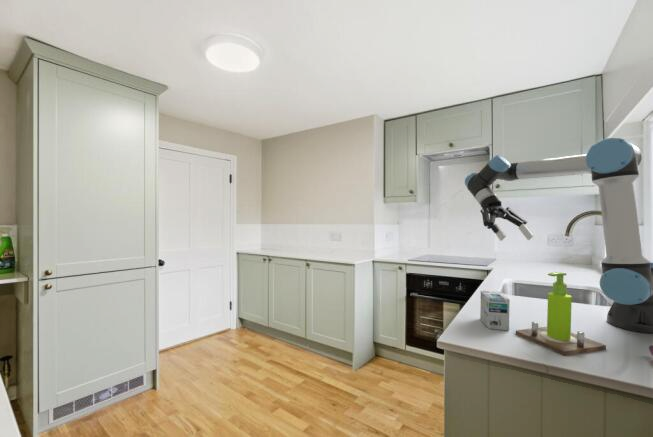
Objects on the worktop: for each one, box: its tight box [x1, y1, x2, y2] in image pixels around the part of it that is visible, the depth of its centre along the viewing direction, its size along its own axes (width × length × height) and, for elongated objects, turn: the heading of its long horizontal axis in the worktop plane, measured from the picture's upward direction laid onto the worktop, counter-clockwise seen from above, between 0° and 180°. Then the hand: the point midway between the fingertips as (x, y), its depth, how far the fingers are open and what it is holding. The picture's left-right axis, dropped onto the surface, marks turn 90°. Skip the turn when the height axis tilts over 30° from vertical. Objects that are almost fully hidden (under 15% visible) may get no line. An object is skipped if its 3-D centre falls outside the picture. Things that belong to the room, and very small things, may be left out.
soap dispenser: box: [546, 271, 573, 341], centre depth 97 cm, size 6×7×20 cm
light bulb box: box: [479, 290, 511, 331], centre depth 111 cm, size 11×7×11 cm, turn 168°
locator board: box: [515, 321, 607, 357], centre depth 97 cm, size 16×16×5 cm
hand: (517, 238), depth 123 cm, fingers open, 13 cm apart
